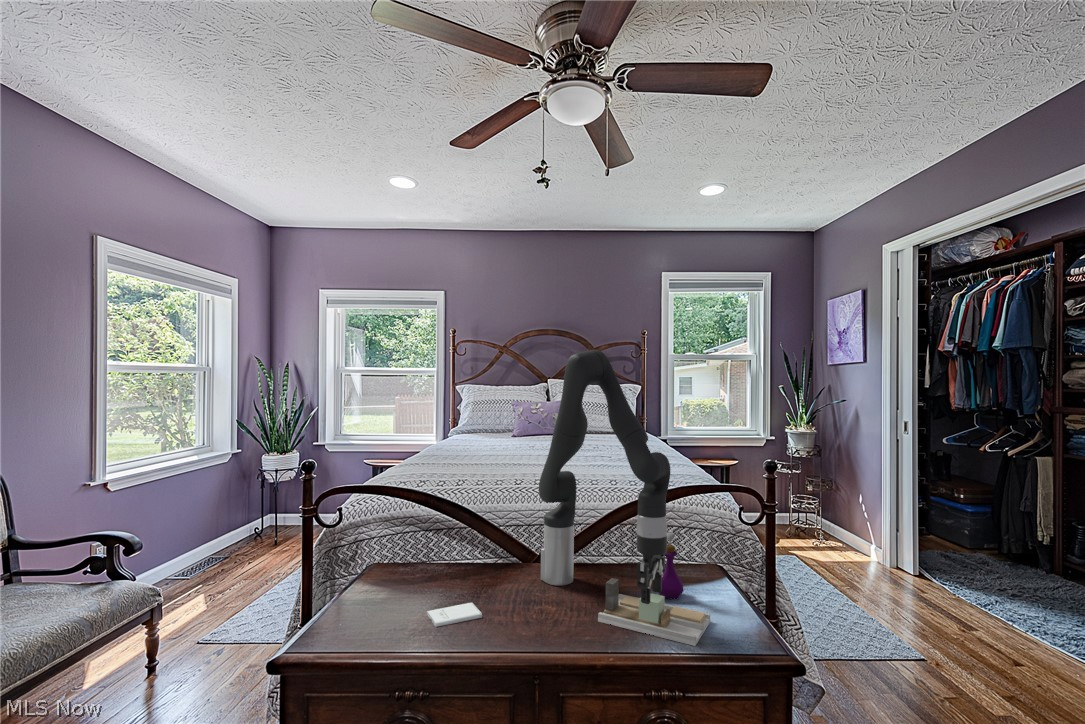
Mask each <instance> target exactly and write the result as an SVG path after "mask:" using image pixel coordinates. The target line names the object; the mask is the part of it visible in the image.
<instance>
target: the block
mask: <svg viewBox="0 0 1085 724" xmlns="http://www.w3.org/2000/svg"><path fill="white" fill-rule="evenodd" d="M638 598H639V619H641V620H646V621H650V622H654V623H659V622H660V621H661V616H662V614H663V613H664V612H665V604H666V602H665V596H662V595H660V594H657V593H651V599H650V603H649V604H645V603H642V602H641V596H640V597H638Z"/></svg>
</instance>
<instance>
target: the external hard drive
mask: <svg viewBox="0 0 1085 724" xmlns="http://www.w3.org/2000/svg"><path fill="white" fill-rule="evenodd" d="M426 615H427V616H428V618H429V619H430V620H431V623H432V624H433V626H434V627H435V628H437V627H441V626H447V625H452V624H456V623H462V622H467V621H472V620H476V619H482V618H483V614H482V611H480V610H479V608H478V607H477V606H476V605H475V604H474V603H473V602H467V603H466V602H465V603H461V604H458V605H457V604H456V605H451V606H447V607H446V606H445V607H442V608H441V607H440V608H435V609H433V610H427V611H426Z"/></svg>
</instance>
